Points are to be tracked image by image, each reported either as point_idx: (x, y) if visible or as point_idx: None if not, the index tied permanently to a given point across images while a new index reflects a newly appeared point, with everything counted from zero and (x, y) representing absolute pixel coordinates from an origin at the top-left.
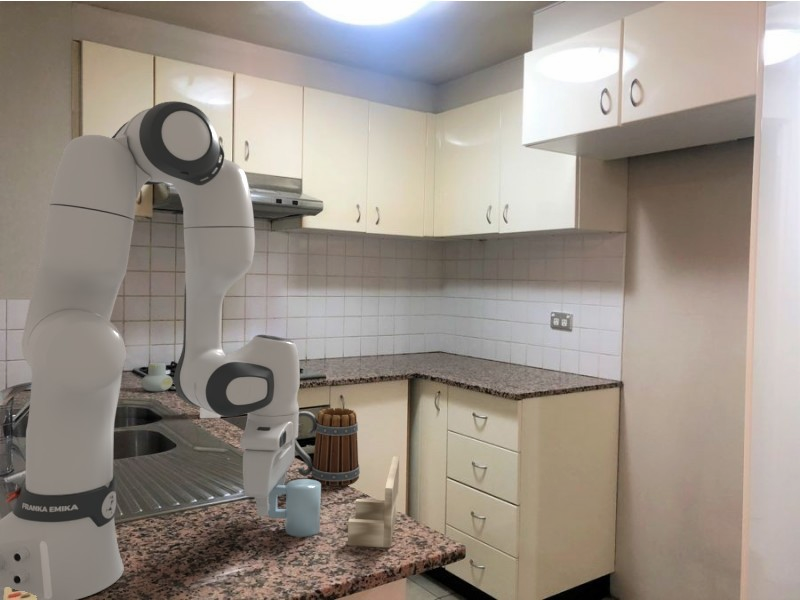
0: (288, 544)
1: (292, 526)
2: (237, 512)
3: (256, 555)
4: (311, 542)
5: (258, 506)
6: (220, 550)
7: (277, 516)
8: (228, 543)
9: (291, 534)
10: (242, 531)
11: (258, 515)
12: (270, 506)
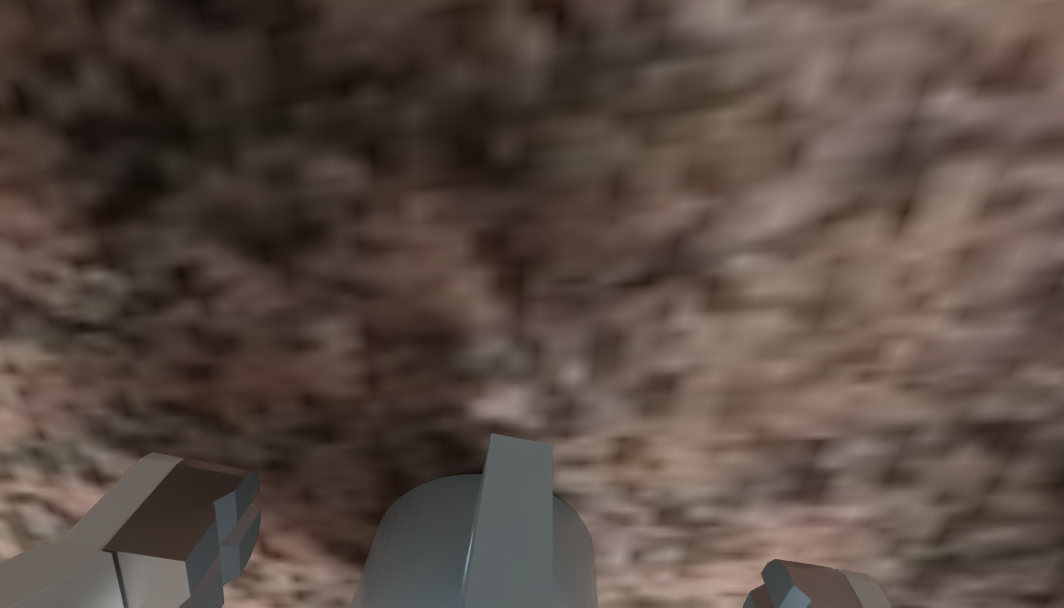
0: (258, 491)
1: (370, 562)
2: (947, 74)
3: (46, 326)
4: (305, 587)
5: (70, 545)
6: (28, 27)
7: (476, 504)
8: (186, 84)
9: (388, 510)
10: (451, 182)
11: (158, 456)
12: (475, 531)
